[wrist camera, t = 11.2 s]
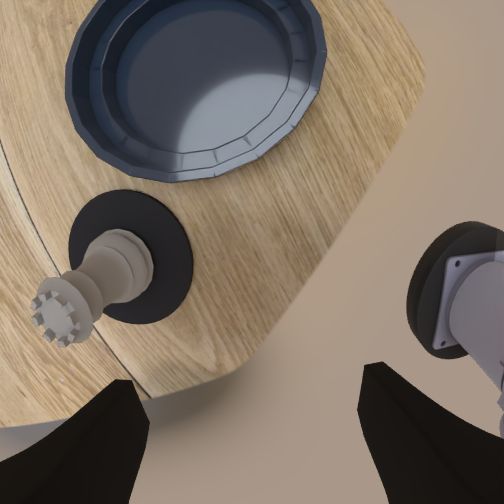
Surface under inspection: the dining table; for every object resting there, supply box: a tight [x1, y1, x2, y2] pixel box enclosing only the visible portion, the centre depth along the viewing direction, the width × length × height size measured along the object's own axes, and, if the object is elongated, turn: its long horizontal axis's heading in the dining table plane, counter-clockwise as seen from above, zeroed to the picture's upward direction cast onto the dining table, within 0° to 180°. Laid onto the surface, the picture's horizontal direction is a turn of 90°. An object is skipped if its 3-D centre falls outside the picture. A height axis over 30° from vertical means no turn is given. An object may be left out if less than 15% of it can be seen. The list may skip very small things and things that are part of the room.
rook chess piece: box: [30, 229, 153, 347], centre depth 14 cm, size 4×4×8 cm
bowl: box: [65, 0, 327, 183], centre depth 13 cm, size 13×13×4 cm
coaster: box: [68, 190, 193, 324], centre depth 18 cm, size 9×9×1 cm
